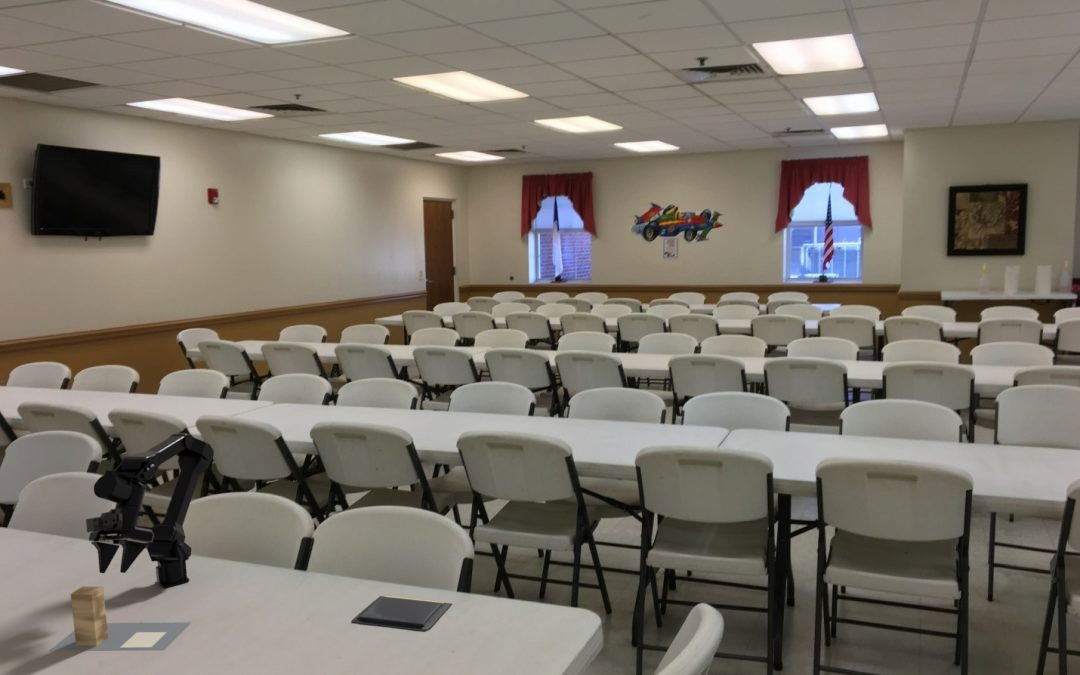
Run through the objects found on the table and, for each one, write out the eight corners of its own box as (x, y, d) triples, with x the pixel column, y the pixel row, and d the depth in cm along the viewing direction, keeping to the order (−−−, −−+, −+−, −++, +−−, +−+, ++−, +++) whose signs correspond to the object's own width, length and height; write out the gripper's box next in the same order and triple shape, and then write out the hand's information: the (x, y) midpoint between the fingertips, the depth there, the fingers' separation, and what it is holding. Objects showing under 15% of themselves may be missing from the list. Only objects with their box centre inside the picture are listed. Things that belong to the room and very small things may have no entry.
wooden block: (87, 636, 189) (82, 586, 188) (108, 637, 189) (103, 586, 187) (75, 645, 186) (70, 593, 184) (96, 646, 185) (91, 594, 183)
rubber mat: (49, 652, 184) (48, 650, 183) (83, 625, 196) (83, 622, 196) (164, 652, 182) (164, 649, 182) (191, 624, 195) (191, 621, 195)
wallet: (348, 617, 194) (380, 590, 208) (348, 625, 194) (381, 597, 208) (426, 627, 187) (454, 599, 202) (426, 635, 187) (454, 606, 202)
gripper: (76, 502, 202) (58, 568, 196) (117, 498, 192) (99, 567, 186) (119, 511, 210) (103, 574, 205) (161, 507, 200) (146, 574, 194)
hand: (112, 572), depth 197 cm, fingers open, 9 cm apart
